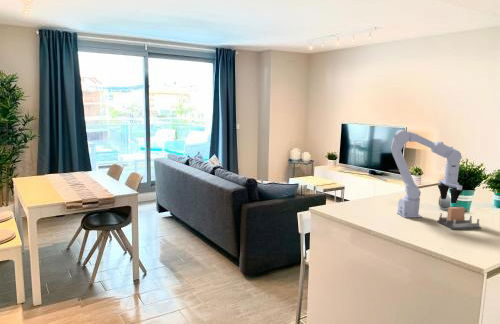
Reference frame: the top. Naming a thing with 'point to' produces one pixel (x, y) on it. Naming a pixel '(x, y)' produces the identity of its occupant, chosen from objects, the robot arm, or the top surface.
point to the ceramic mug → (444, 203)
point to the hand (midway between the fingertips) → (448, 201)
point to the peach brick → (456, 213)
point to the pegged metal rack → (458, 223)
